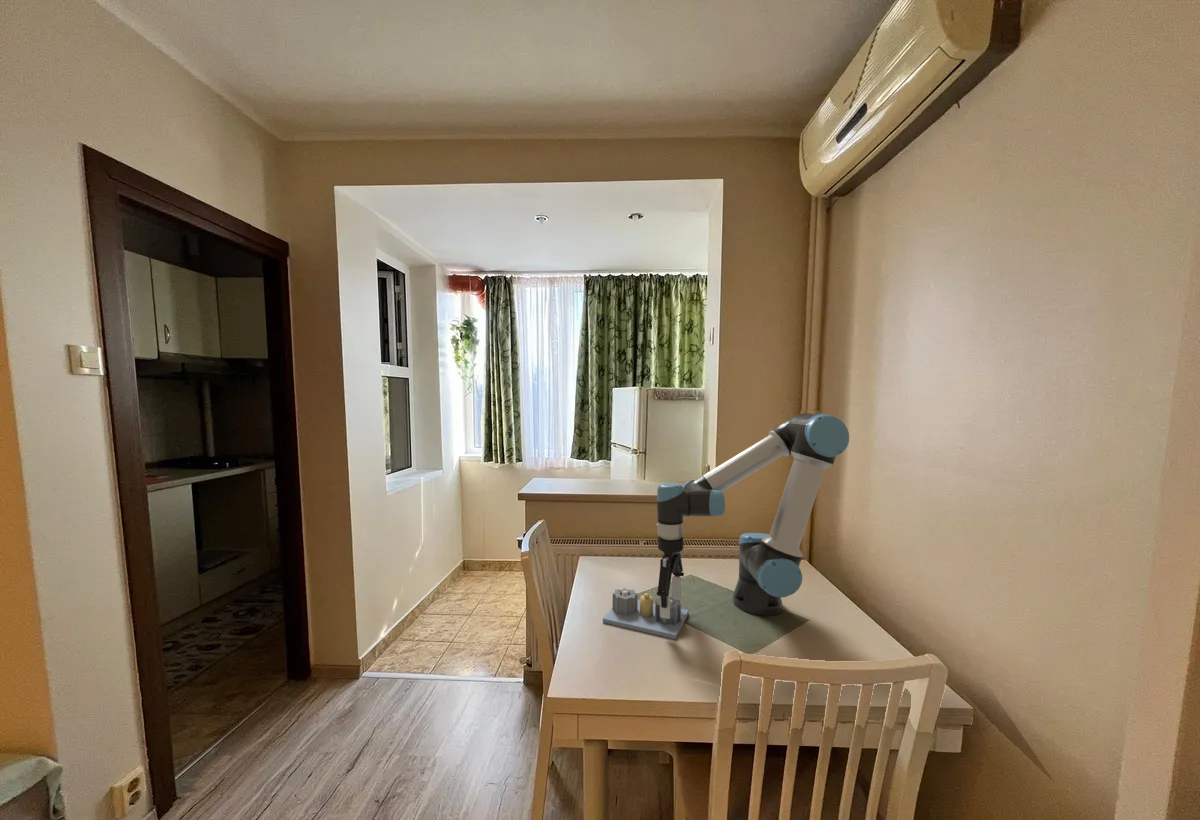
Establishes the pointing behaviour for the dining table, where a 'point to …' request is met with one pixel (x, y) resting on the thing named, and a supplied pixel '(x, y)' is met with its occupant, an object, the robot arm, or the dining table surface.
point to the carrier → (640, 614)
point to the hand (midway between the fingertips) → (671, 607)
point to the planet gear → (674, 612)
